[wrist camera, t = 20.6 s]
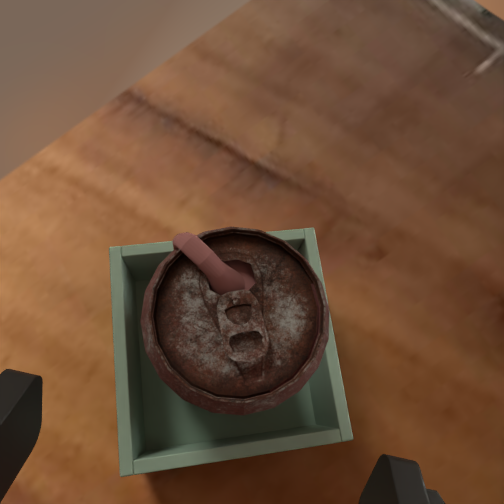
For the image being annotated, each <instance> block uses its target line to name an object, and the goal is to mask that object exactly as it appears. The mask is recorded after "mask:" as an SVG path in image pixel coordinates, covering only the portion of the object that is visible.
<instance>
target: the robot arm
mask: <svg viewBox="0 0 504 504" xmlns="http://www.w3.org/2000/svg"><path fill="white" fill-rule="evenodd" d="M42 384H43V382H42V377H41V376H38V375H34V374H29V373H25V372H21V371H16V370H12V369H6V370H4V371H3V372H2V373H1V374H0V502H1V501H2V499H3V498H4V496H5V494H6V493H7V491H8V489H9V488H10V486H11V484H12V483H13V481H14V480H15V478H16V476H17V475H18V473H19V471H20V470H21V468H22V466H23V465H24V463H25V462H26V460H27V458H28V457H29V455H30V453H31V452H32V450H33V448H34V446H35V444H36V441H37V439H38V436H39V433H40V429H41V423H42ZM359 504H445V502H444V501H443V499H442V498H441V496H440V495H439V493H438V492H437V491H435V490H430V489H426V488H425V484H424V481H423V477H422V474H421V470H420V467H419V465H418V463H417V462H416V461H413V460H408V459H404V458H399V457H395V456H390V455H386V454H383V455H381V456H380V458H379V459H378V461H377V463H376V465H375V467H374V469H373V471H372V474H371V476H370V478H369V480H368V482H367V484H366V486H365V488H364V490H363V492H362V494H361V496H360V500H359Z"/></svg>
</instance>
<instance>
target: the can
mask: <svg viewBox="0 0 504 504" xmlns="http://www.w3.org/2000/svg"><path fill="white" fill-rule="evenodd" d="M173 249H174V250H173V251H172V252H171V253H170V254H169V255H168V256H167V257H166V258H165V259H164V260H163V261H162V262H161V263H160V264H159V265H158V267H157V269H156V271H155V273H154V275H153V277H152V279H151V280H150V282H149V284H148V286H147V288H146V290H145V294H144V300H143V307H142V313H141V319H140V322H141V328H142V334H143V340H144V346H145V351H146V353H147V355H148V357H149V359H150V361H151V363H152V364H153V366H154V368H155V370H156V372H157V374H158V376H159V378H160V379H161V380H162V381H163V382H164V383H165V384H166V385H168V386H169V387H170V388H171V389H172V390H173V391H174V392H175V393H176V394H177V395H178V396H179V397H180V398H182V399H183V400H184V401H187V402H189V403H191V404H193V405H196V406H198V407H200V408H202V409H205V410H207V411H209V412H211V413H220V414H232V415H243V416H244V415H248V414H252V413H256V412H260V411H264V410H268V409H271V408H275V407H276V406H278V405H279V404H281V403H282V402H284V401H285V400H287V399H288V398H290V397H291V396H293V395H295V394H296V393H298V392H299V391H300V390H301V389H302V388H303V386H304V385H305V384H306V383H307V381H308V380H309V379H310V378H311V376H312V375H313V374H314V372H315V371H316V370H317V369H318V367H319V365H320V362H321V359H322V356H323V354H324V351H325V348H326V345H327V342H328V340H329V311H330V310H329V306H328V303H327V299H326V296H325V292H324V289H323V285H322V282H321V281H320V279H319V278H318V276H317V275H316V273H315V271H314V270H313V268H312V267H311V265H310V264H309V262H308V261H307V259H306V258H305V257H304V256H302V255H301V254H300V253H299V252H298V251H296V250H295V249H294V248H293V247H292V246H290V245H289V244H288V243H287V242H286V241H284V240H282V239H280V238H277V237H275V236H273V235H270V234H268V233H266V232H263V231H261V230H256V229H248V228H239V227H227V228H222V229H216V230H211V231H205V232H202V233H200V234H199V235H197V236H196V235H194V234H191V233H188V232H186V233H181V234H178V235H176V236H175V237H174V239H173Z"/></svg>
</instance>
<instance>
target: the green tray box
mask: <svg viewBox="0 0 504 504" xmlns="http://www.w3.org/2000/svg"><path fill="white" fill-rule="evenodd" d="M266 233H268V234H270V235H273V236H275V237H277V238H280V239H282V240H284V241H286V242H287V243H288V244H289V245H290V246H292V247H293V248H294V249H295V250H296V251H298V252H299V253H300V254H301V255H302V256H304V257H305V258H306V259H307V261H308V262H309V264H310V265H311V267H312V268H313V270H314V271H315V273H316V275H317V276H318V278H319V279H320V281H321V282H322V285H323V289H324V292H325V296H326V299H327V295H326V290H325V284H324V279H323V273H322V268H321V263H320V257H319V252H318V247H317V241H316V236H315V231H314V228H305V229H294V230H284V231H273V232H266ZM173 250H174V249H173V241H169V242H158V243H148V244H138V245H127V246H122V247H121V246H117V247H109V258H110V279H111V300H112V321H113V342H114V362H115V383H116V404H117V425H118V446H119V467H120V477H124V476H131V475H133V474H134V475H137V474H144V473H150V472H156V471H162V470H169V469H175V468H181V467H188V466H194V465H200V464H207V463H213V462H219V461H225V460H232V459H238V458H244V457H251V456H257V455H263V454H269V453H276V452H282V451H288V450H295V449H301V448H307V447H314V446H320V445H326V444H332V443H339V442H341V441H342V442H345V441H351V440H353V434H352V429H351V424H350V418H349V413H348V408H347V402H346V397H345V391H344V386H343V381H342V375H341V370H340V365H339V359H338V354H337V349H336V343H335V338H334V332H333V327H332V322H331V316H330V311H329V340H328V342H327V345H326V348H325V351H324V354H323V356H322V359H321V362H320V365H319V367H318V369H317V370H316V371H315V372H314V374H313V375H312V376H311V378H310V379H309V380H308V381H307V383H306V384H305V385H304V386H303V388H302V389H301V390H300V391H299V392H298V393H296V394H295V395H293V396H291V397H290V398H288V399H287V400H285V401H284V402H282V403H281V404H279V405H278V406H276V407H275V408H271V409H268V410H264V411H260V412H256V413H252V414H248V415H244V416H243V415H232V414H220V413H211V412H209V411H207V410H205V409H202V408H200V407H198V406H196V405H193V404H191V403H189V402H187V401H184V400H183V399H182V398H180V397H179V396H178V395H177V394H176V393H175V392H174V391H173V390H172V389H171V388H170V387H169V386H168V385H166V384H165V383H164V382H163V381H162V380H161V379H160V378H159V376H158V374H157V372H156V370H155V368H154V366H153V364H152V363H151V361H150V359H149V357H148V355H147V353H146V351H145V346H144V340H143V334H142V328H141V322H140V319H141V313H142V307H143V300H144V294H145V290H146V288H147V286H148V284H149V282H150V280H151V279H152V277H153V275H154V273H155V271H156V269H157V267H158V265H159V264H160V263H161V262H162V261H163V260H164V259H165V258H166V257H167V256H168V255H169V254H170V253H171V252H172V251H173ZM327 303H328V300H327Z"/></svg>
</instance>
